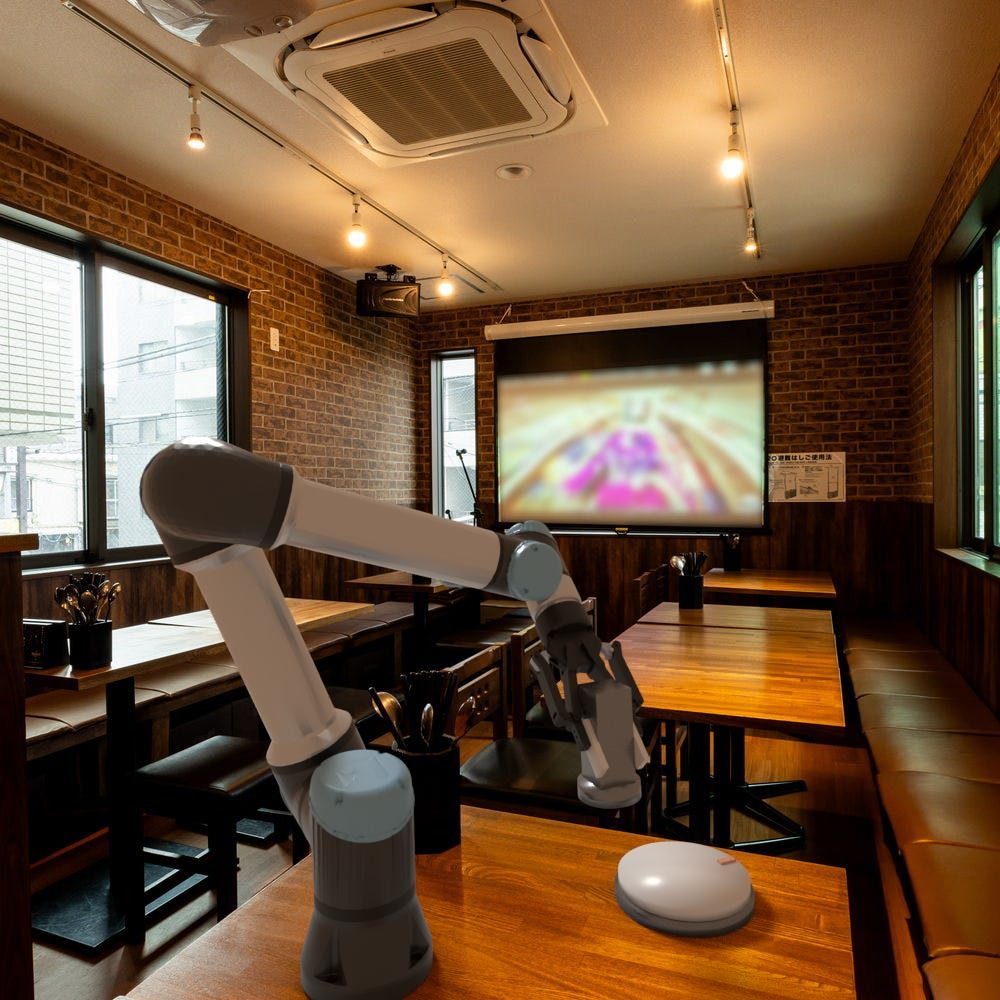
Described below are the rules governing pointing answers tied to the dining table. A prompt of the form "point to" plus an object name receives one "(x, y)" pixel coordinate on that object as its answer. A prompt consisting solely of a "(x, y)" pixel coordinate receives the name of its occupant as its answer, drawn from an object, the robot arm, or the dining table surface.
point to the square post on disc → (609, 745)
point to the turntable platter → (684, 881)
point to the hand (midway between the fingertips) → (623, 768)
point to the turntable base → (686, 927)
